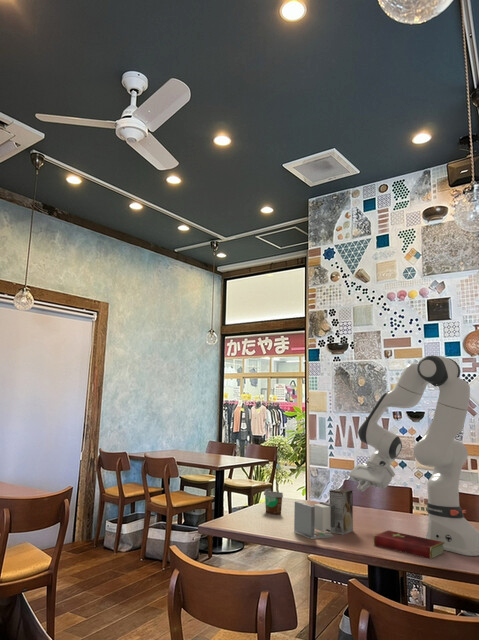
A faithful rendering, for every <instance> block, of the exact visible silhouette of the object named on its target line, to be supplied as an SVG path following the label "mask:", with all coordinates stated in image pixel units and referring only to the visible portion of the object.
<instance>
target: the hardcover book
mask: <svg viewBox="0 0 479 640" xmlns="http://www.w3.org/2000/svg"><path fill="white" fill-rule="evenodd" d="M443 544H444V542H441V541H436V540H432V539H427V538H426V537H423V536H422V537H421V536H418V535H417V536H416V535H412V534H407V533H402V532H398V531H393V530H385V531H382V532H378V533H376V534H373V546H376V547H379V548H380V547H381V548H383V549H389V550H392V551H396V552H401V553H405V554H410V555H413V556H416V557H417V556H418V557H421V558H425V559H429V560H432V559H433V558H435V557H437V556H439V555H442V554H443V553H444V550H443Z"/></svg>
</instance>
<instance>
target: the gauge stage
mask: <svg viewBox="0 0 479 640" xmlns="http://www.w3.org/2000/svg"><path fill="white" fill-rule="evenodd" d="M312 506H314V507H315V528H314V530H316V531H318V532H321V533H326V532H329V533H331V532H330V531H331V527H332V528H333V527H335V506H334V505H330V503H327V502H323V501H319V503H316V504H315V503H314V504H313V505H312Z"/></svg>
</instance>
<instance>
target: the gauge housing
mask: <svg viewBox="0 0 479 640" xmlns="http://www.w3.org/2000/svg"><path fill="white" fill-rule="evenodd" d="M293 521H294V522H293V523H294V524H293V525H294V527H293V532H294V534H297V535H300V536H303V537H305V538H307V539H309V538H310V539H309V540H316V539H326V538H327V539H328V538H333V537H334V533H332V532H328V531H326V532H321V531H318V530H315V529H314V528H315V507H314V506H313V505H312V504H307V503H304V502H301V501H294V518H293Z"/></svg>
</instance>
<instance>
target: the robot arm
mask: <svg viewBox="0 0 479 640" xmlns="http://www.w3.org/2000/svg"><path fill="white" fill-rule="evenodd" d="M460 377H461V368H460V365H459V363H457V362H456V360H453V358H452V359H451V358H449V357H445V356H442V355H433V354H432V355H427V356H425V357H422V358H421V359H420V360H419V362H418V363H415V362H413V363H411V362H410V363H409V364H407V366H405V368H404V369H403V371H402V373H401V375H400V376H399V378H398V381H397V383H396V385H395V386H394V387H393V389H392V390H387V391H385V392H384V393H383V394H382V395H381V396H380V398H379V399H378V400H377V402H376V403H375V405H374V406H373V408H372V410H371V412H370V413H369V414H368V416H367V418H366V419H365V420H364V422H363V423H362V424H361V425H360V427H359V428H358V431H357V434H358V437H359V440H360V442H361V443H364V444H366V445H369V446H370V447H373V448H374V449H375V452H373V453H372V454H371V455H370V457H369V458H368V459H367V461H366V463H363V462H361V463H359V464H357V465H355V467H353V469H351V471H350V472H349V474H348V475H349V478H350V479H351V480H352V481H353V482H357V483H358V485H357V486H356V489H357V491H359V492H365V491H366V490H367V489H368V488H370V487H375V488H376V487H377V488H380V489H385V488H386V489H387V488H388V486H389V484H390V483H391V482H392V480H393V478H394V477H395V475H396V473H395V471H394V470H393V468H392V467H391V464H392V463H393V462H395V460H396V458H397V457H398V456H399V455H400V452H401V451H402V450H403V449H402V448H403V442H402V440H401V438H400V436H398V435H397V434H396V433H394V432H392V431H390V430H388V429H386V428H384V427H382V425H379V424H378V422H379V420H380V419H381V417H382V416H383V414H384V413H385V411H386V410H387V409H388V408H400V409H411V408H414V407H416V406H417V405H418V404H419V402H420V401H421V399H422V398H423V394H424V392H425V389H426V387H427V386H428V385H429V384H431V385H432V386H434V387H436V388H437V387H438V389H439V392H438V393H439V394H438V399H437V402H436V406H435V410H434V414H433V418H432V421H431V423H430V425H429V427H428V429H427V430H426V432H425V434H424V435H423V436H422V438H421V439H419V441H417V442H416V443H415V445H414V448H413V454H414V455H413V456H414V457H415V458H414V459H415V460H416V461H417V462H418V463H419V464H421V465H422V466H426V467H429V468H433V471H432V474H431V476H430V478H429V479H428V481H427V485H426V486H427V503H426V513H427V515H428V516H427V517H428V520H427V522H428V523H427V529H426V530H427V531H426V535H425V538H427V539H432V540H436V541H441V542H444V544H443V551H448V552H450V553H451V552H452V553H456V554H458V555H459V554H460V555H463V556H469V557H470V556H471V557H473V556H475V557H478V556H479V531H478V529H476V527H474V525H472V524H471V523H470V522H469V521H468V520H467V519H466V518H465V515H464V514H467V509H462V507H461V506H460V494H459V493H460V492H459V489H460V488H459V485H460V484H459V483H460V478H461V472H462V469H463V466H464V464H465V462H466V461H467V460H468V457H469V454H468V453H469V452H468V449H467V447H466V446H465V444H464V443H463V442H461V441H459V440H457V439H456V437H457V436H458V435H459V433H461V432H462V431H463V429H464V426H465V423H466V418H467V414H468V409H469V406H470V405H469V404H470V398H471V397H470V396H471V387H470V384H469V383H468V381H466V380H464V379H462V378H460Z"/></svg>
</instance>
